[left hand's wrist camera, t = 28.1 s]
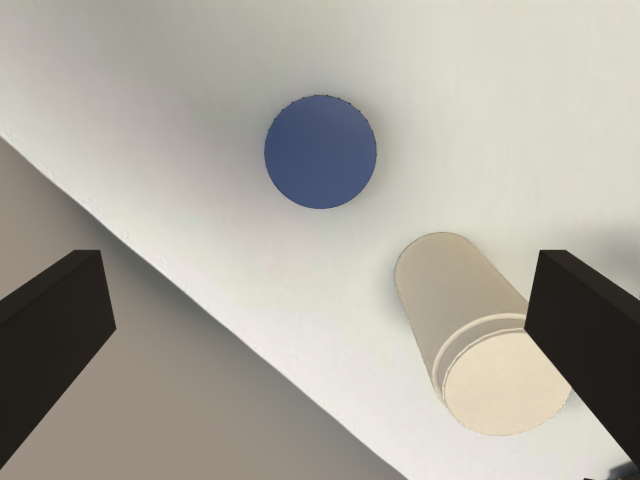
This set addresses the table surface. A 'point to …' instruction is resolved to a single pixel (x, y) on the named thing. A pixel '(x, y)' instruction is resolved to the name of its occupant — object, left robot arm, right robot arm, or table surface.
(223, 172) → the table surface
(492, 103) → the table surface
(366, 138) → the lid
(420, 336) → the jar
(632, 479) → the spray gun
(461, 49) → the table surface
